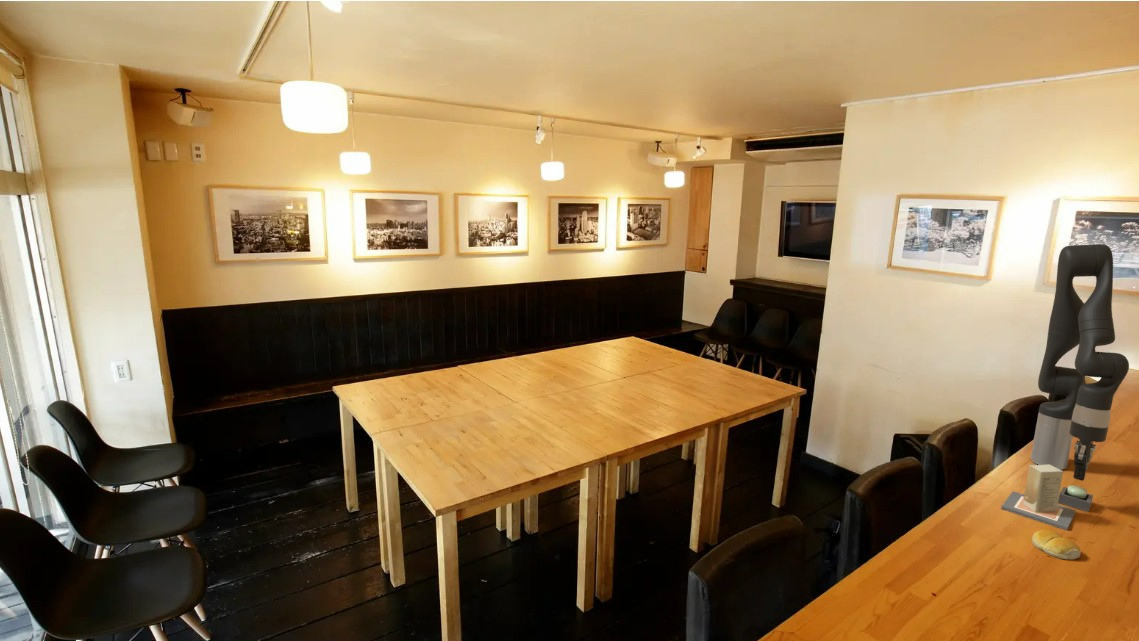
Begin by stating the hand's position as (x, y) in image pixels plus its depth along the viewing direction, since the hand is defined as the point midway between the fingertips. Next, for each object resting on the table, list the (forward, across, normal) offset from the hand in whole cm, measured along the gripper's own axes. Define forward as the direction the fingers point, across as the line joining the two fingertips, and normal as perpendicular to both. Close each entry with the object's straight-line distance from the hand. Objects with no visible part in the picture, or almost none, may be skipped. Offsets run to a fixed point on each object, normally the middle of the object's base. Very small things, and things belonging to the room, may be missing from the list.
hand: (1078, 478), depth 154 cm
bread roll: (+8, +32, +1) cm, 33 cm away
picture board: (+8, +13, -6) cm, 16 cm away
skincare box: (+7, +13, -6) cm, 16 cm away
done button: (+5, 0, 0) cm, 5 cm away
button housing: (+8, 0, 0) cm, 8 cm away
